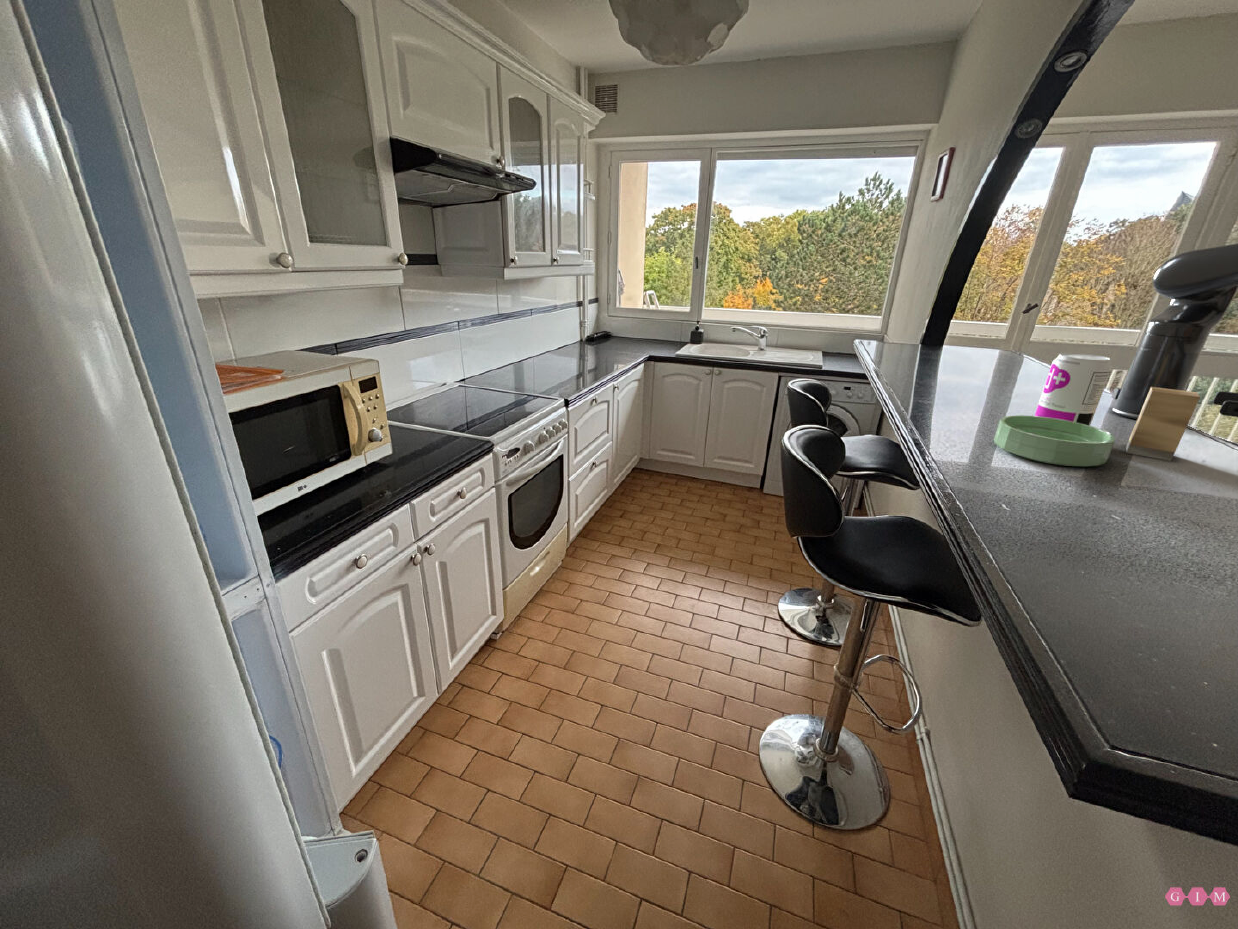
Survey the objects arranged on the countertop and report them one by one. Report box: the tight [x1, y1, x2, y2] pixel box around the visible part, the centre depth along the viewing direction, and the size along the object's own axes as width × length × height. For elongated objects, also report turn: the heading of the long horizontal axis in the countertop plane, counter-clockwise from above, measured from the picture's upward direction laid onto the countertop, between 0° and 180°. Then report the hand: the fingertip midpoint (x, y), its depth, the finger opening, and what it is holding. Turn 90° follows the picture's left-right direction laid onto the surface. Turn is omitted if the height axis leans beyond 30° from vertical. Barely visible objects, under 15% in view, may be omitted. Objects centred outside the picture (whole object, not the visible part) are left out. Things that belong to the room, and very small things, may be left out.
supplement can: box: [1034, 352, 1113, 426], centre depth 94 cm, size 8×8×15 cm
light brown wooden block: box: [1125, 387, 1201, 462], centre depth 86 cm, size 4×6×11 cm
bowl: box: [993, 414, 1116, 467], centre depth 87 cm, size 15×15×4 cm
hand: (1218, 402), depth 81 cm, fingers open, 8 cm apart
